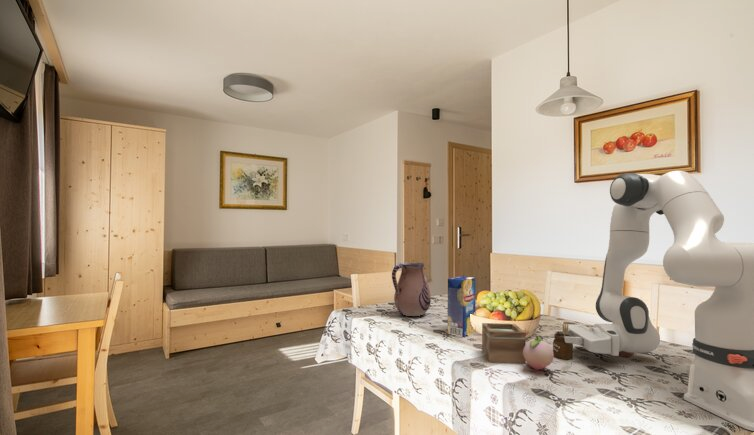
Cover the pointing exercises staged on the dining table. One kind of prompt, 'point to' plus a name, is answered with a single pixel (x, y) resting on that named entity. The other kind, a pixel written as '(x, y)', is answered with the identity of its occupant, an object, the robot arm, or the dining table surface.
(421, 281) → the ceramic pitcher
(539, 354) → the decorative fruit
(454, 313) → the beverage box
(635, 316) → the robot arm
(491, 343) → the walnut box
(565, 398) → the dining table surface
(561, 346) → the utensil holder
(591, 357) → the dining table surface
